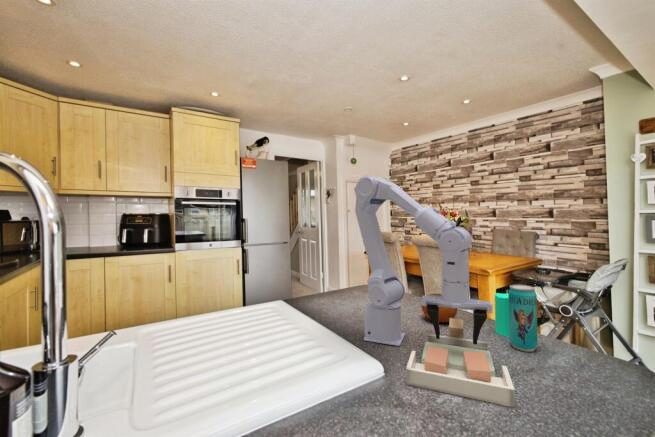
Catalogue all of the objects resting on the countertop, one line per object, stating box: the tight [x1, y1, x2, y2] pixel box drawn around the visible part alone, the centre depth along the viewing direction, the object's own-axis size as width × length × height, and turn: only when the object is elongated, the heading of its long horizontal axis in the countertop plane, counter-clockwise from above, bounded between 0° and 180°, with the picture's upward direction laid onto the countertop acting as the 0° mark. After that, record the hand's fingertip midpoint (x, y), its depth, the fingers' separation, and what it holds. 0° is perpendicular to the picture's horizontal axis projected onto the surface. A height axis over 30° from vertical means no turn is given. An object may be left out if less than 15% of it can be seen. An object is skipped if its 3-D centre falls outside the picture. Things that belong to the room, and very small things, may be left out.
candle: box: [494, 292, 509, 338], centre depth 80 cm, size 6×6×12 cm
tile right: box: [463, 351, 491, 382], centre depth 58 cm, size 4×5×2 cm
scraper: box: [427, 318, 488, 351], centre depth 73 cm, size 13×8×6 cm, turn 66°
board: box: [421, 341, 496, 377], centre depth 64 cm, size 14×10×2 cm
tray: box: [405, 350, 516, 409], centre depth 56 cm, size 18×8×3 cm, turn 66°
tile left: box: [424, 345, 449, 374], centre depth 60 cm, size 4×5×2 cm
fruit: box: [421, 292, 458, 323], centre depth 91 cm, size 11×10×8 cm
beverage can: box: [507, 284, 538, 353], centre depth 71 cm, size 6×6×15 cm
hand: (456, 339), depth 66 cm, fingers open, 7 cm apart
